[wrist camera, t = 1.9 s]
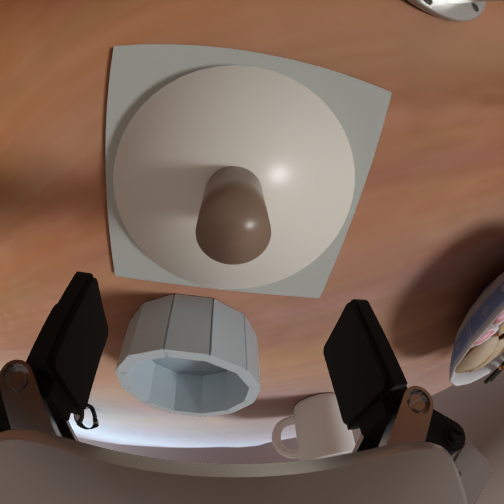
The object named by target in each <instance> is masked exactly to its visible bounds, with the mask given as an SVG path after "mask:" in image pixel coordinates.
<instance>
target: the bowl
mask: <svg viewBox="0 0 504 504" xmlns="http://www.w3.org/2000/svg"><path fill="white" fill-rule="evenodd" d="M212 299H213V298H207V297H198V296H190V295H181V294H175V295H174V294H171V295H168V296H165V297H161V298H158V299H155V300H151V301H148V302H145V303H144V304H142V305H141V306H140V308H139V309H138V310H137V312H136V313H135V314H134V316H133V317H132V319H131V320H130V322H129V325H128V328H127V332H126V335H125V338H124V342H123V345H122V348H121V352H120V355H119V359H118V363H117V366H116V374H117V376H118V379H119V381H120V384H121V386H122V388H123V389H124V390H126V391H127V392H128V393H130V394H131V395H132V396H134V397H135V398H136V399H138V400H139V401H141V402H142V403H144V404H146V405H149V406H152V407H155V408H158V409H160V410H163V411H166V412H169V413H172V412H173V414H181V415H190V416H200V417H202V416H204V417H206V416H214V415H222V414H230V413H234V412H236V411H238V410H240V409H242V408H244V407H246V406H248V405H250V404H252V403H253V402H254V401H255V399H256V397H257V395H258V393H259V391H260V389H261V383H260V371H259V359H258V347H257V335H256V334H255V332H254V330H253V329H252V327H251V325H250V323H249V322H248V320H247V318H246V316H245V315H244V314H242V313H240V312H238V311H236V310H235V309H233V308H231V307H229V306H227V305H225V304H223V303H221V302H220V301H218V300H216V299H214V300H212Z"/></svg>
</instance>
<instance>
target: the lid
mask: <svg viewBox="0 0 504 504" xmlns="http://www.w3.org/2000/svg"><path fill="white" fill-rule="evenodd" d="M113 186H114V196H115V200H116V205H117V209H118V212H119V214H120V217H121V219H122V222H123V224H124V226H125V228H126V230H127V231H128V233H129V235H130V236H131V238H132V239H133V240H134V242H135V243H136V245H137V246H138V247H139V248H140V249H141V250H142V251H143V252H144V253H145V254H146V256H148V257H149V258H150V259H151V260H152V261H153V262H155V263H156V264H157V265H159V266H160V267H162V268H163V269H165V270H166V271H168V272H169V273H171V274H173V275H175V276H177V277H179V278H181V279H184V280H186V281H189V282H192V283H195V284H199V285H202V286H206V287H213V288H219V289H246V288H253V287H259V286H263V285H267V284H271V283H274V282H277V281H279V280H282V279H285V278H287V277H289V276H291V275H293V274H295V273H297V272H298V271H300V270H302V269H303V268H305V267H306V266H308V265H309V264H310V263H312V262H313V261H314V260H315V259H317V258H318V257H319V256H320V255H321V254H322V253H323V252H324V251H325V250H326V249H327V248H328V247H329V245H330V244H331V243H332V242H333V240H334V239H335V238H336V236H337V235H338V233H339V231H340V230H341V228H342V226H343V225H344V222H345V220H346V218H347V215H348V213H349V210H350V206H351V203H352V199H353V193H354V186H355V168H354V161H353V154H352V151H351V147H350V144H349V141H348V138H347V136H346V134H345V132H344V130H343V128H342V126H341V124H340V122H339V121H338V119H337V118H336V116H335V115H334V113H333V112H332V111H331V110H330V108H329V107H328V106H327V105H326V104H325V103H324V102H323V101H322V100H321V99H320V98H319V97H318V96H317V95H316V94H314V93H313V92H312V91H311V90H309V89H308V88H307V87H305V86H304V85H302V84H300V83H299V82H297V81H295V80H293V79H292V78H289V77H287V76H285V75H282V74H280V73H277V72H275V71H271V70H267V69H263V68H259V67H252V66H241V65H230V66H217V67H212V68H207V69H202V70H198V71H195V72H193V73H190V74H187V75H185V76H182V77H180V78H178V79H176V80H174V81H173V82H171V83H169V84H167V85H166V86H164V87H163V88H161V89H160V90H159V91H157V92H156V93H155V94H154V95H152V96H151V97H150V98H149V99H148V100H147V101H146V102H145V103H144V104H143V105H142V106H141V107H140V108H139V110H138V111H137V112H136V114H135V115H134V116H133V118H132V119H131V120H130V122H129V124H128V126H127V127H126V129H125V131H124V133H123V135H122V137H121V140H120V143H119V146H118V149H117V152H116V157H115V162H114V171H113Z"/></svg>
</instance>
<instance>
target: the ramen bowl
mask: <svg viewBox="0 0 504 504" xmlns="http://www.w3.org/2000/svg"><path fill="white" fill-rule="evenodd" d="M498 366H499V367H498ZM497 367H498V368H497ZM496 368H497V369H496ZM494 369H496V370H495V371H494V372H493V373H492V374H491V375H490V376H489V377H488V378H487V379H486V380H485V381H484V382H485V384H486V383H488V382H489V381H493V380H494V379H495V377H496V376H497V375H498V374H499V373H500V372H501V371H502V370H503V369H504V272H503V273H502V274H501V275H499V276H498V277H497V278H496V279H495V280H494V281H493V282H491V283H490V284H489V285H488V286H487V287H486V288H485V289H484V290H483V291H482V292H481V294H480V295H479V297H478V298H477V300H476V302H475V303H474V304H473V305H472V307H471V308H470V309H469V311H468V313H467V315H466V316H465V318H464V320H463V322H462V324H461V325H460V328H459V330H458V332H457V335H456V339H455V343H454V347H453V352H452V356H451V364H450V380H449V382H450V383H452V384H453V385H455V386H460V385H465V384H469V383H471V382H473V381H475V380H477V379H479V378H481V377H483V376H485V375H487V374H488V373H490V372H491V371H493V370H494Z"/></svg>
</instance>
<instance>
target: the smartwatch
mask: <svg viewBox="0 0 504 504" xmlns="http://www.w3.org/2000/svg"><path fill="white" fill-rule="evenodd" d="M87 407H89V409H90V410H91V412H92V415H93V414H94V415H93V426H92V427H91V428H87V427H85V426H84V425H83V424H82V421H83V419H84V410H83V409H82V411H81V415H76V414H74V419H75V421H76V423H77V425H78V426H79V427H81V428H84V429H93V428H95V427H98V424H99V423H98V419H97V415H96V412H95V409H94V408H93V407H92V406H91V405H89V404H87ZM94 412H95V413H94ZM95 415H96V416H95ZM95 418H96V419H95Z"/></svg>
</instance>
